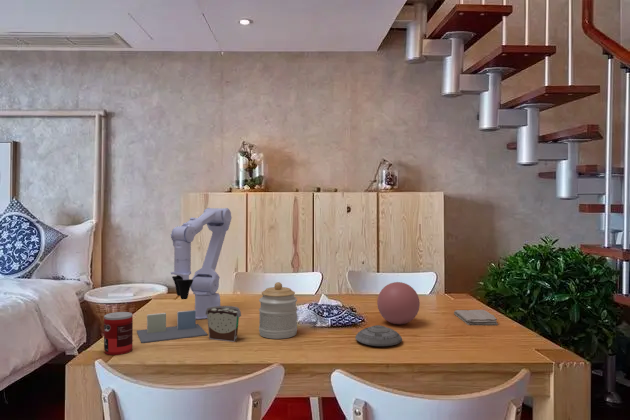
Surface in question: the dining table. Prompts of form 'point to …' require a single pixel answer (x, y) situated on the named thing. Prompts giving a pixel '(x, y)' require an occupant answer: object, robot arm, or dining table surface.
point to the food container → (223, 322)
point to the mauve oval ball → (398, 303)
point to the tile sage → (156, 322)
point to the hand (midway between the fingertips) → (182, 297)
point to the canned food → (118, 333)
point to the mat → (170, 334)
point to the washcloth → (476, 317)
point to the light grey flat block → (186, 319)
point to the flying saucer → (378, 336)
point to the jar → (278, 313)
